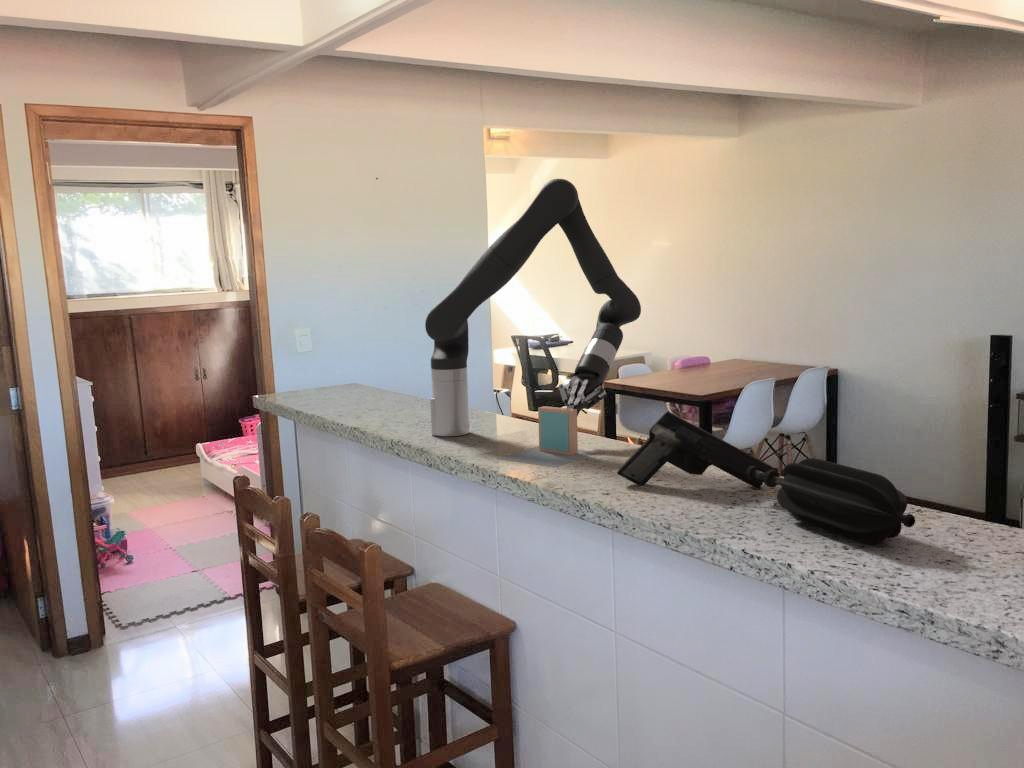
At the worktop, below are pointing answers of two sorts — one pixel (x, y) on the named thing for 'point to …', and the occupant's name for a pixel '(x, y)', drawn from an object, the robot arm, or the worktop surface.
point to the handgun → (687, 453)
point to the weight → (839, 499)
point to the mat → (545, 457)
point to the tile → (558, 430)
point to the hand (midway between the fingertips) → (568, 420)
